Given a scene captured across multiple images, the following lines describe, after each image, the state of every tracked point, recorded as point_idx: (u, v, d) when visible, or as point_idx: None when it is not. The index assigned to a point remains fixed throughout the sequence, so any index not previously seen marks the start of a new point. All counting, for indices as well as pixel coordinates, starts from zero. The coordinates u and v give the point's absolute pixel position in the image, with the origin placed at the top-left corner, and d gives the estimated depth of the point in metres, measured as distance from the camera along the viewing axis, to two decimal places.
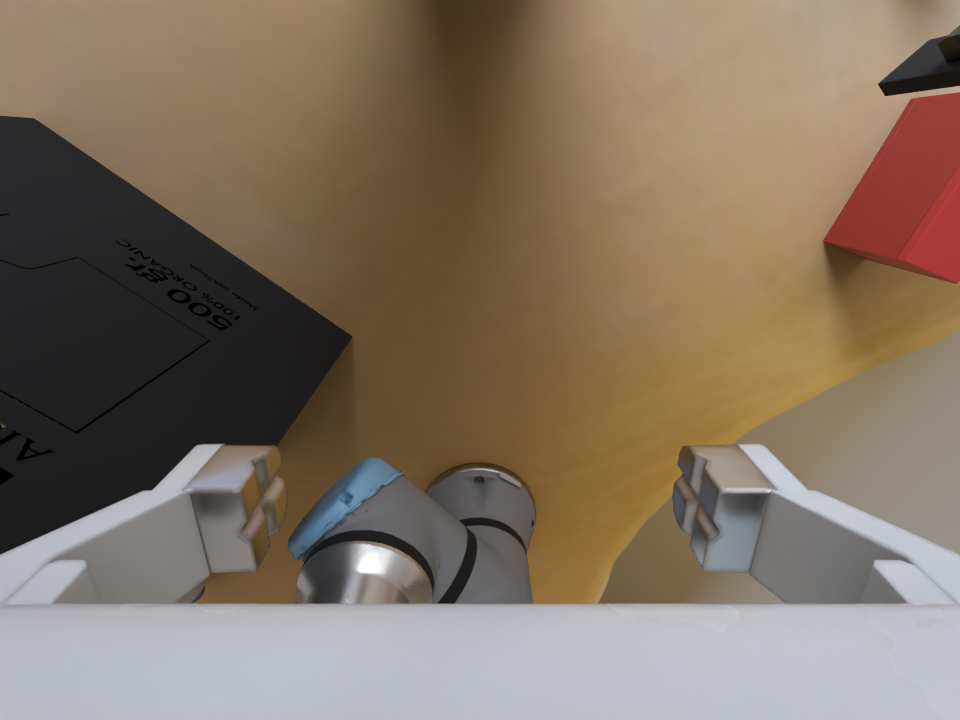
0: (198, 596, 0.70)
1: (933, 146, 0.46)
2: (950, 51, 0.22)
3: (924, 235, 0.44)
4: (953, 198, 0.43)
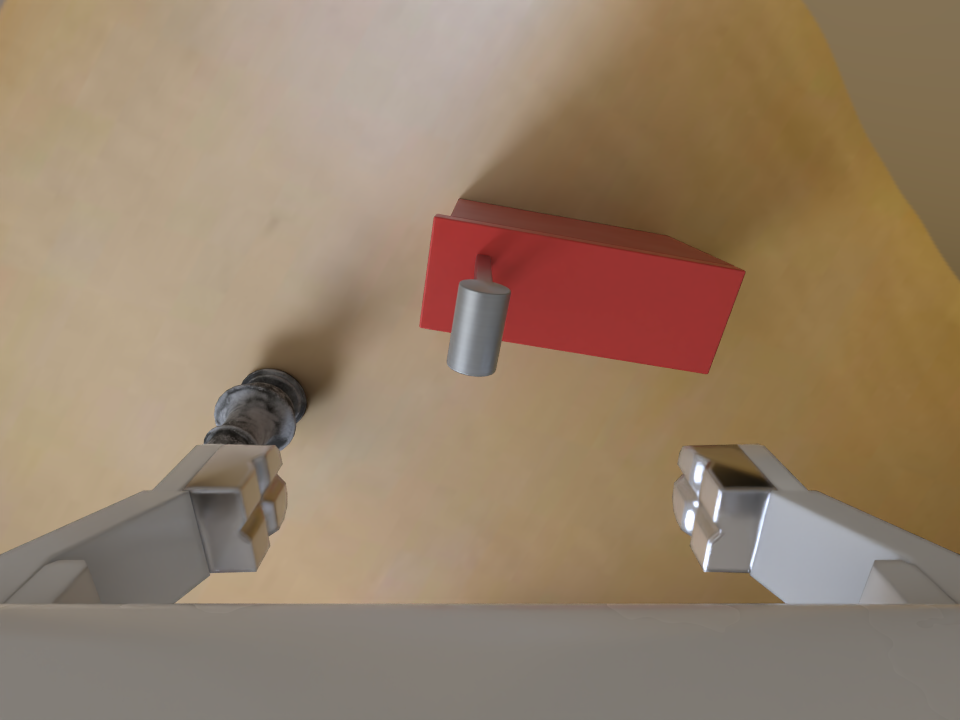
0: None
1: None
2: None
3: (664, 365, 0.27)
4: (603, 351, 0.27)
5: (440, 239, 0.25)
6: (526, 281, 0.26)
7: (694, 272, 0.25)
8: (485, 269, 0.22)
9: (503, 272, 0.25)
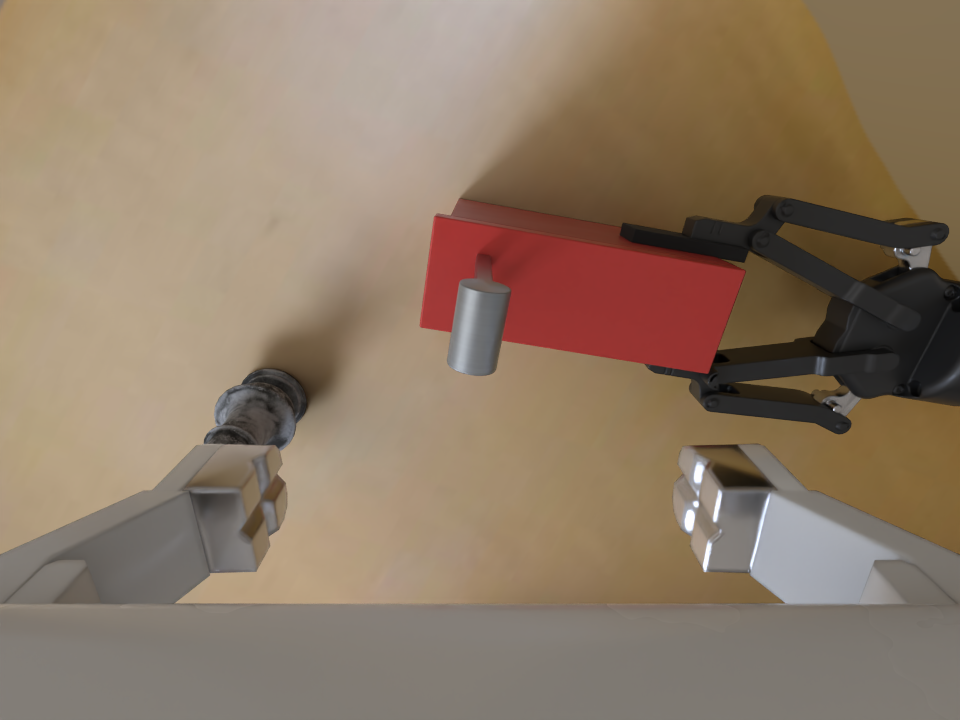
0: None
1: None
2: (701, 230, 0.29)
3: (664, 364, 0.27)
4: (603, 351, 0.27)
5: (440, 238, 0.25)
6: (526, 281, 0.26)
7: (694, 272, 0.25)
8: (485, 268, 0.22)
9: (503, 272, 0.25)
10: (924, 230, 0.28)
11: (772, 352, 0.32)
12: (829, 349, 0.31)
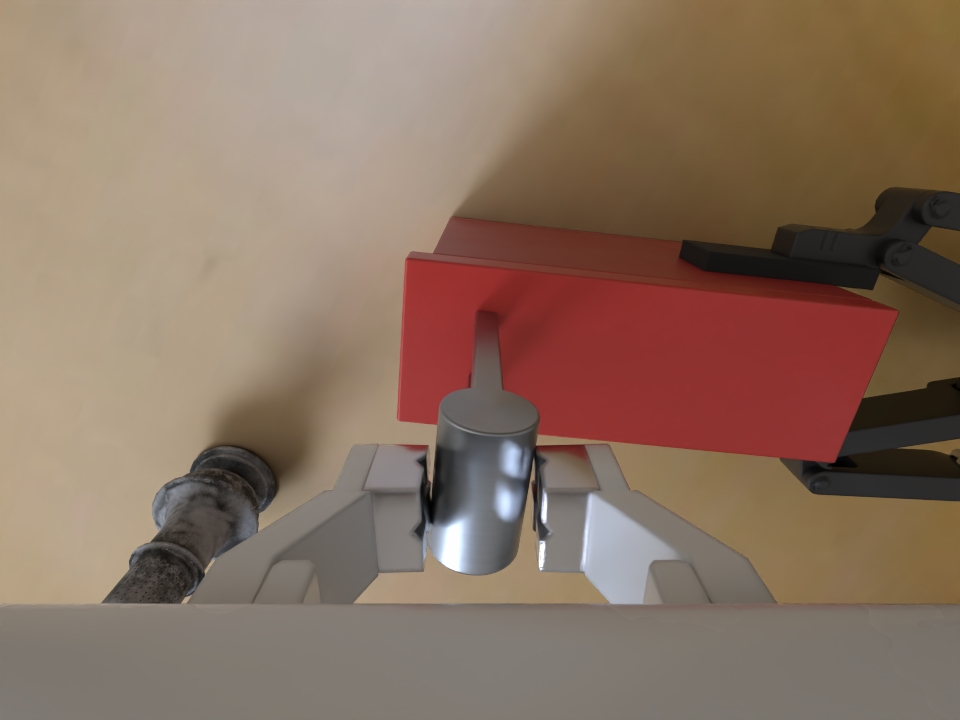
0: None
1: None
2: (805, 246, 0.19)
3: (768, 454, 0.18)
4: (675, 439, 0.18)
5: (418, 291, 0.16)
6: (554, 346, 0.17)
7: (817, 318, 0.16)
8: (489, 348, 0.13)
9: (518, 335, 0.17)
10: None
11: (902, 407, 0.23)
12: None
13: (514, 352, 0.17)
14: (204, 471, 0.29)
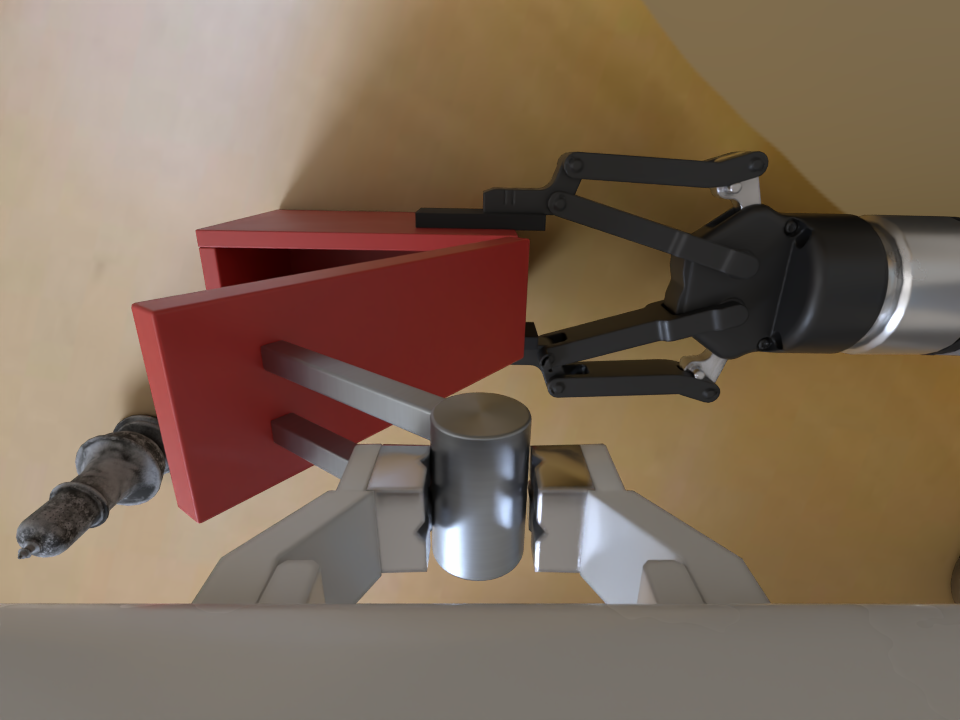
0: None
1: None
2: (491, 202, 0.26)
3: (494, 370, 0.23)
4: (445, 390, 0.20)
5: (183, 350, 0.12)
6: (343, 352, 0.16)
7: (497, 257, 0.21)
8: (356, 372, 0.12)
9: None
10: (739, 162, 0.25)
11: (615, 322, 0.29)
12: (674, 311, 0.28)
13: None
14: (114, 433, 0.36)
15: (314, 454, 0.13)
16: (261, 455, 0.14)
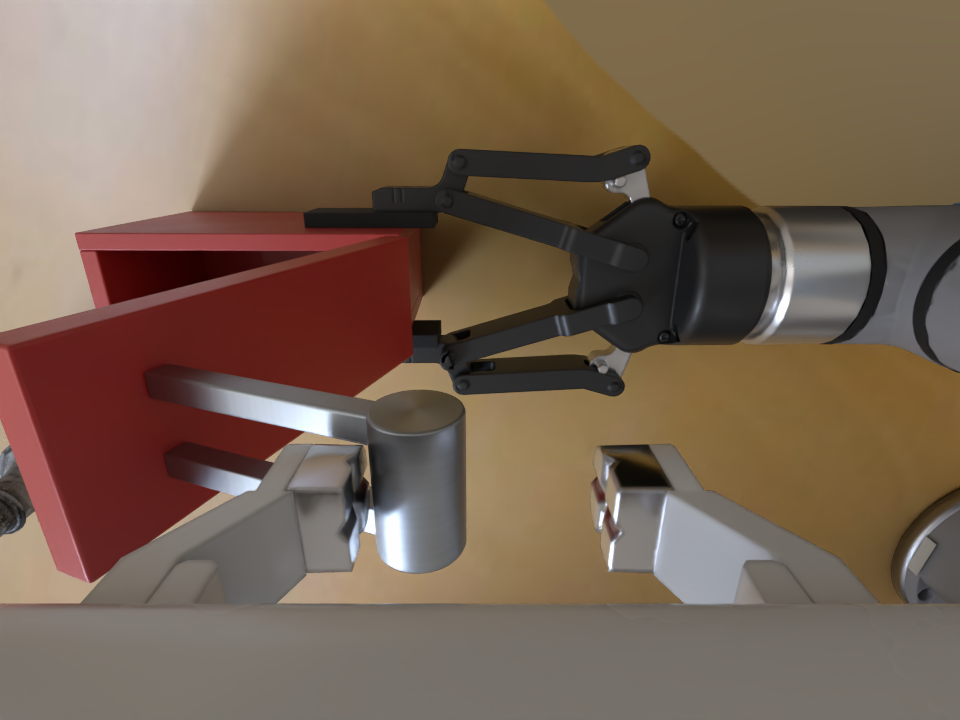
0: None
1: None
2: (381, 201, 0.26)
3: (387, 370, 0.23)
4: None
5: (51, 387, 0.10)
6: (236, 369, 0.15)
7: (380, 257, 0.21)
8: (269, 387, 0.11)
9: None
10: (621, 156, 0.25)
11: (518, 319, 0.29)
12: (572, 305, 0.28)
13: None
14: None
15: (225, 481, 0.12)
16: (157, 493, 0.13)
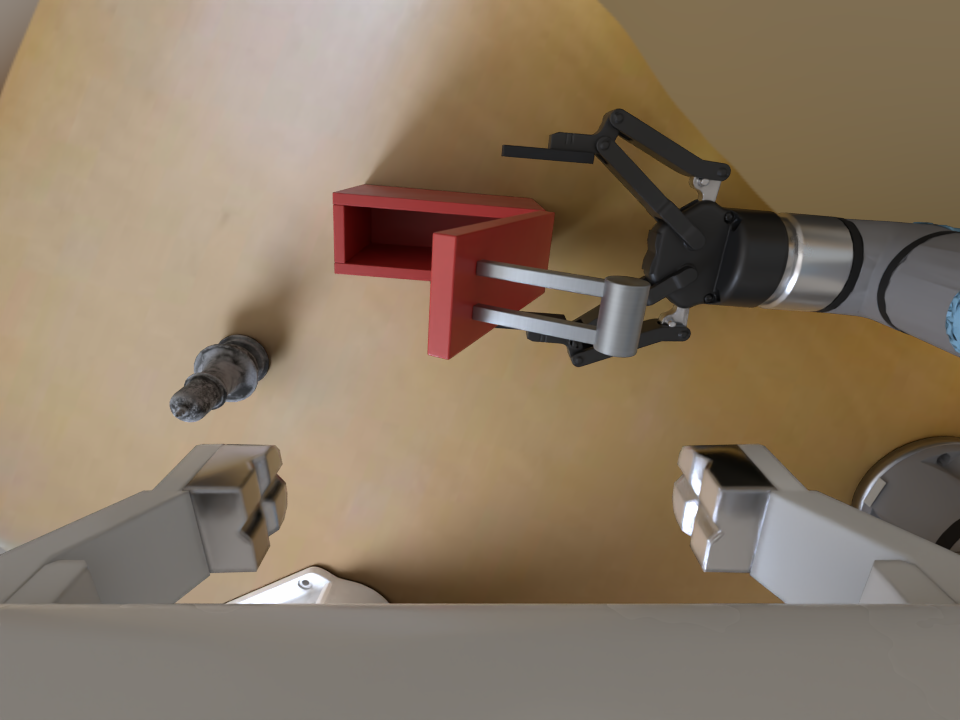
0: None
1: None
2: (557, 141, 0.37)
3: (534, 298, 0.35)
4: (518, 306, 0.32)
5: (459, 258, 0.22)
6: None
7: (543, 223, 0.33)
8: (546, 270, 0.23)
9: None
10: (713, 166, 0.37)
11: None
12: (648, 271, 0.40)
13: (485, 282, 0.26)
14: None
15: (509, 320, 0.24)
16: (468, 325, 0.25)
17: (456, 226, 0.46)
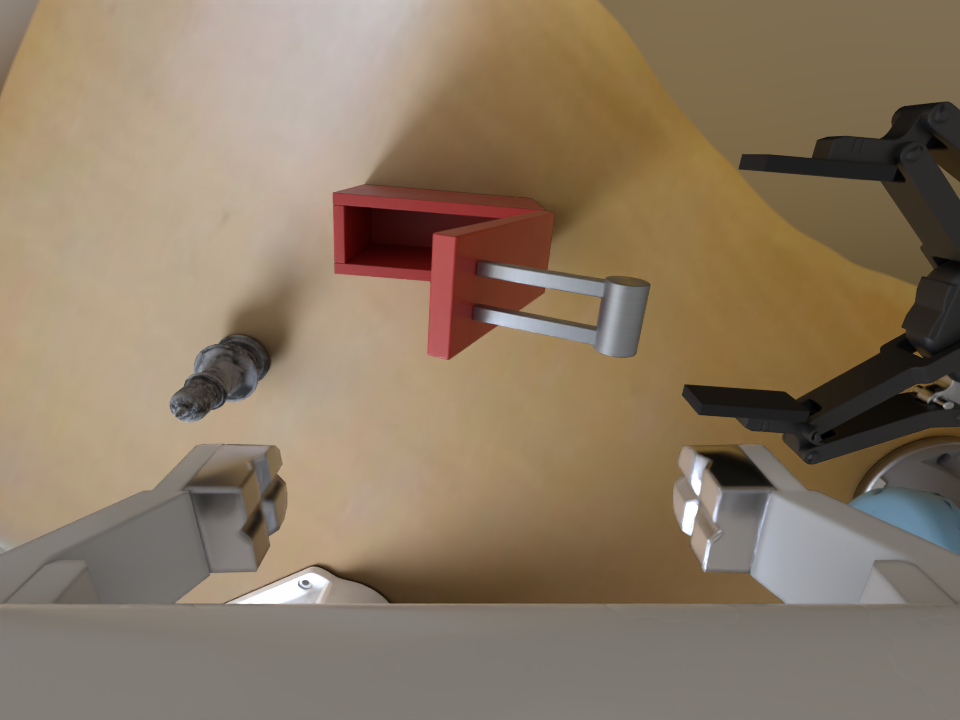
0: None
1: None
2: (839, 149, 0.26)
3: (534, 298, 0.35)
4: (518, 306, 0.32)
5: (459, 258, 0.22)
6: None
7: (543, 223, 0.33)
8: (546, 271, 0.23)
9: None
10: None
11: (862, 378, 0.31)
12: (924, 334, 0.29)
13: (485, 282, 0.26)
14: None
15: (509, 320, 0.24)
16: (468, 326, 0.25)
17: (456, 226, 0.46)
